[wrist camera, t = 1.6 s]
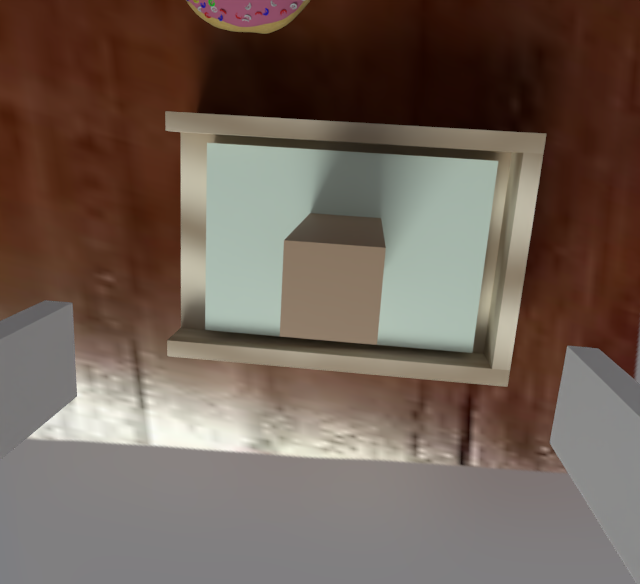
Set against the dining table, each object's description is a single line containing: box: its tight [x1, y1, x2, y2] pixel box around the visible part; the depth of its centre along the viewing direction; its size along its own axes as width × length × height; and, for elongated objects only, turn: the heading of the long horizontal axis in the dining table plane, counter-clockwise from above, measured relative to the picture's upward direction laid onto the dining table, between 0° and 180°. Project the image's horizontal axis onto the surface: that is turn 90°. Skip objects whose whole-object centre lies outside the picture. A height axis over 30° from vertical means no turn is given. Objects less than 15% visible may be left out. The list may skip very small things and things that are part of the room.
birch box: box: [165, 111, 546, 387], centre depth 34 cm, size 14×20×6 cm
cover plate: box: [205, 143, 498, 353], centre depth 28 cm, size 11×16×12 cm
